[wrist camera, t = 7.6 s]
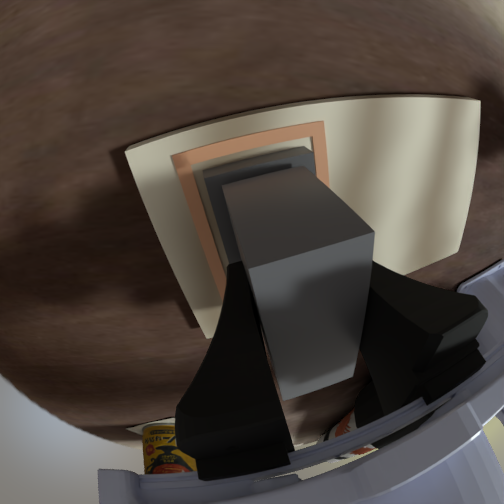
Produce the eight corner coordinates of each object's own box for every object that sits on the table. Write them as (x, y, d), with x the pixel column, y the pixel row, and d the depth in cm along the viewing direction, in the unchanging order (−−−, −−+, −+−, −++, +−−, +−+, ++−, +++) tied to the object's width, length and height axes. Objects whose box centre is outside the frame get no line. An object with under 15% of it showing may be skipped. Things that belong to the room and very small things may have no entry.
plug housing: (303, 165, 10) (374, 231, 6) (314, 300, 15) (352, 376, 11) (221, 185, 10) (248, 268, 6) (257, 318, 15) (283, 400, 11)
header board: (469, 97, 12) (529, 120, 8) (450, 245, 19) (488, 282, 15) (129, 146, 11) (96, 189, 7) (205, 326, 18) (215, 394, 14)
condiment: (172, 416, 25) (186, 520, 16) (213, 434, 30) (230, 517, 21) (125, 426, 26) (131, 518, 16) (168, 444, 31) (179, 521, 21)
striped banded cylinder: (301, 425, 47) (289, 471, 39) (398, 327, 26) (400, 417, 18) (348, 434, 46) (339, 478, 38) (465, 344, 24) (476, 422, 17)
